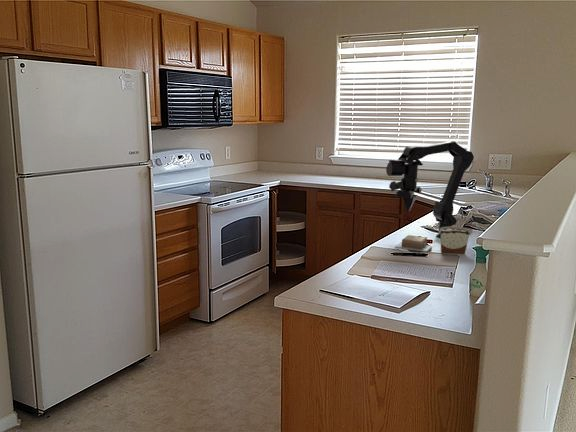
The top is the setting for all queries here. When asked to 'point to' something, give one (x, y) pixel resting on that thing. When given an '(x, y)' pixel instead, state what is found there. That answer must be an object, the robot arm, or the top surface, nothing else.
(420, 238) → the wooden block
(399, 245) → the board
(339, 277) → the top surface
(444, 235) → the food container
